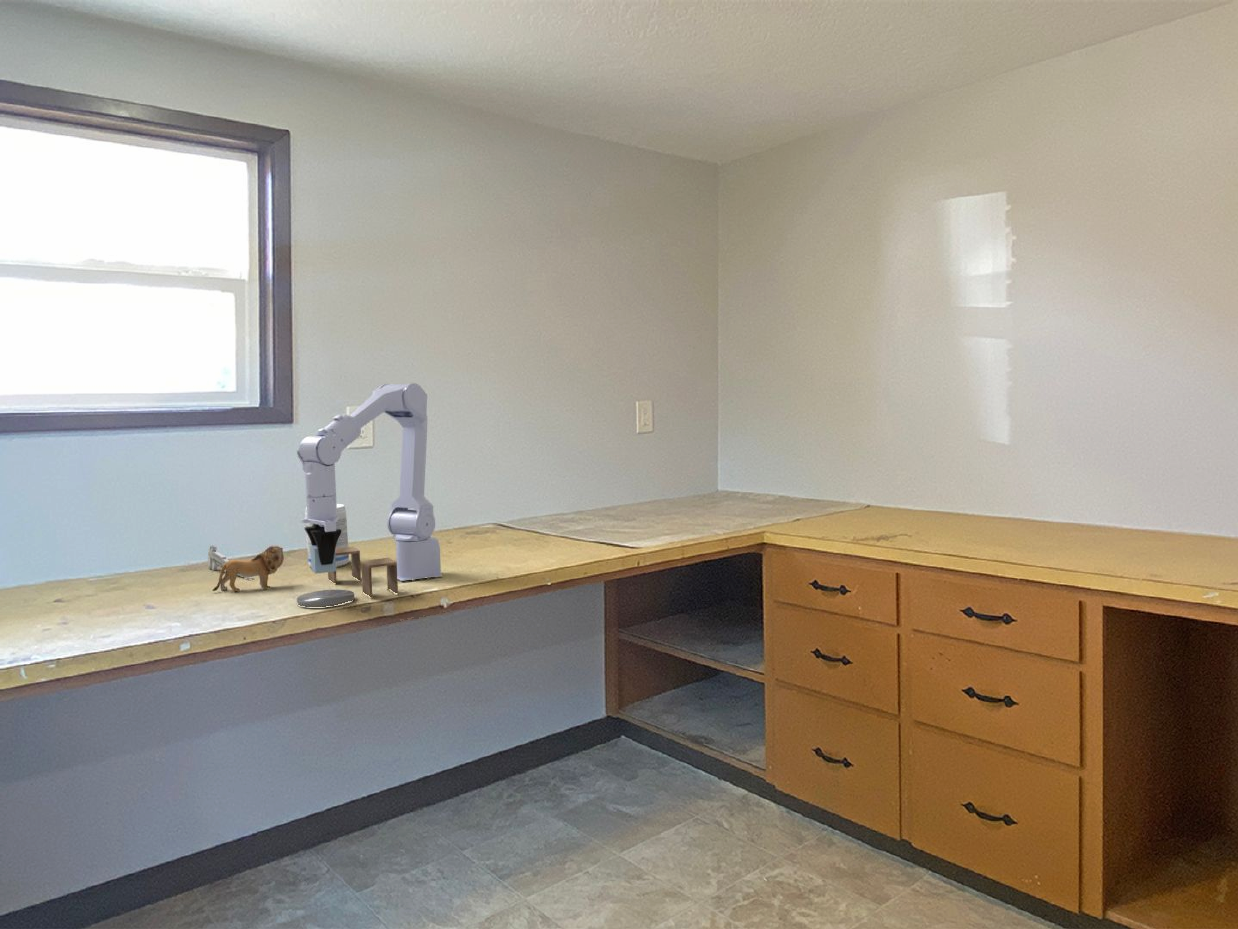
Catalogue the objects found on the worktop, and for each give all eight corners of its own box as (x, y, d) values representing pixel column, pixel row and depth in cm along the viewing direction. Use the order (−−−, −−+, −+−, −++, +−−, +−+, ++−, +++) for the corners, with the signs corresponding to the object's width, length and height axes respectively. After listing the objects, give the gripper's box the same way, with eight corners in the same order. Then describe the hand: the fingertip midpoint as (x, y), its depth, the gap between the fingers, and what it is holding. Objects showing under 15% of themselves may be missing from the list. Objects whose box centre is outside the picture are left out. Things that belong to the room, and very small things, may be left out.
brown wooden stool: (389, 590, 182) (388, 557, 181) (398, 595, 177) (396, 562, 176) (362, 593, 179) (361, 561, 178) (370, 599, 174) (368, 565, 173)
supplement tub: (344, 559, 216) (341, 502, 214) (353, 566, 207) (350, 506, 206) (304, 564, 211) (301, 505, 209) (311, 571, 202) (309, 510, 201)
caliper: (208, 570, 206) (206, 545, 206) (212, 569, 207) (211, 544, 206) (250, 581, 193) (248, 554, 193) (254, 580, 194) (253, 553, 194)
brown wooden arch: (354, 576, 195) (353, 546, 195) (360, 581, 190) (359, 550, 190) (328, 580, 192) (326, 549, 192) (334, 584, 187) (333, 553, 187)
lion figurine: (283, 582, 191) (281, 542, 190) (287, 586, 186) (285, 546, 186) (211, 591, 183) (208, 550, 183) (213, 596, 179) (211, 554, 178)
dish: (346, 592, 180) (346, 587, 179) (360, 603, 170) (360, 597, 170) (292, 600, 174) (292, 594, 174) (303, 611, 164) (303, 605, 164)
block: (311, 570, 172) (310, 545, 172) (331, 567, 174) (330, 543, 174) (315, 573, 169) (314, 548, 168) (336, 571, 171) (335, 546, 170)
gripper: (293, 493, 174) (296, 558, 175) (308, 500, 162) (311, 571, 163) (328, 491, 178) (331, 555, 179) (345, 498, 166) (348, 566, 167)
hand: (324, 562), depth 171 cm, fingers closed on block, 4 cm apart
